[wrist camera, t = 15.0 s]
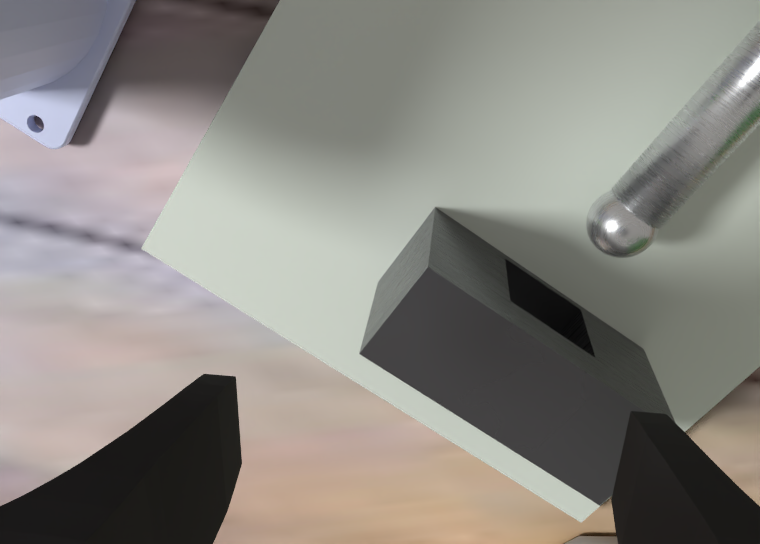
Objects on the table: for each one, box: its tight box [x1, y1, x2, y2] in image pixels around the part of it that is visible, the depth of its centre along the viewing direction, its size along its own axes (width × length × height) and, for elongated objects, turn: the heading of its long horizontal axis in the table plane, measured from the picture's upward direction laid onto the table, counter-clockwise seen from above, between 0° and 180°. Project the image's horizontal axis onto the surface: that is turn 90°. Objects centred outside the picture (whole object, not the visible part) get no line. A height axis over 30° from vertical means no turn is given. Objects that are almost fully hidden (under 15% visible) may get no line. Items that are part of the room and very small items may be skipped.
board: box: [141, 0, 760, 522], centre depth 19 cm, size 18×25×1 cm
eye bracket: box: [359, 207, 675, 506], centre depth 20 cm, size 8×3×4 cm, turn 56°
